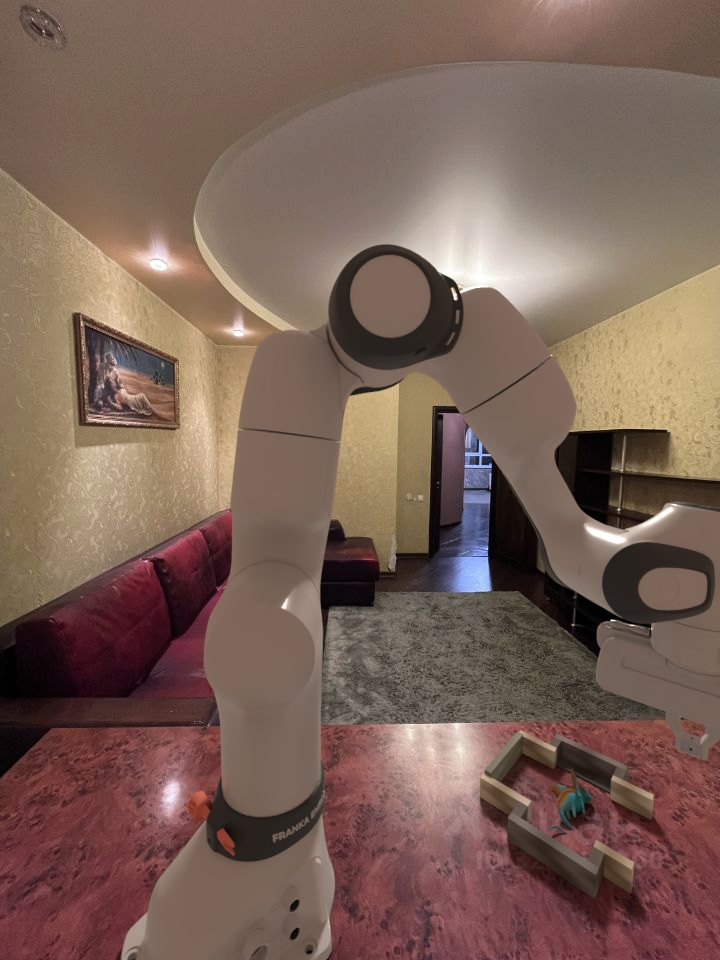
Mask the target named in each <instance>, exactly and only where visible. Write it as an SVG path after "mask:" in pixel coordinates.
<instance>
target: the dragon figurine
mask: <svg viewBox="0 0 720 960" xmlns="http://www.w3.org/2000/svg"><path fill="white" fill-rule="evenodd" d="M577 777H578V776H576V775H575V774H574V770H573V768H572V770H571V773H570V778H571V782H572V783H571V784H572V786H571V788H570V787H569V788H567V787H566V785H564V784H563V785H562V784H560V783H554V784H551V785H549V788H550V791H551V792H554V796H555V797H556V798H557V800H556V802H557V806H556V807H557V811H558V815H559V817H560V819H561V820H562V822H563V823H564V824H565V825H566V826H567V827H568V828H569V829H570V830H572V831H574V828H573V826H572V825H571V824H570V823H569V821H568V820H567V819H569V820H571V819H572V817H573V818H577V813H579V812H582V815H584V816H585V815H586V810H585V804H587V805H588V804H589V805H590V804H591V803H593V797H592V795H591V793H590V791H588V790H587V789H586V788H585V786H584V785H583V786H582V784H581V782H580V781H578V778H577ZM577 784H578V785H577ZM571 812H572V817H571ZM565 813H566V816H565ZM566 817H567V819H566ZM552 829H558V830H559V831H561V832H562V833H563V834H565V835H568V834H569V833H568V832H566V831H565V830H564V829H562V828H560V827H559V826H557V825H552V826H551V827H550V828H549V831H551V830H552Z"/></svg>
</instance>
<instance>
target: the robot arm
mask: <svg viewBox="0 0 720 960" xmlns="http://www.w3.org/2000/svg"><path fill="white" fill-rule="evenodd" d="M452 289H454V292H455V294H454V293H453V291H452ZM327 306H328V308H327V310H328V311H327V313H328V320H327V322H326V324H322V325H321V326H320V327H318V328H316V329H313V330H312V329H311V330H308V331H306V330H301V329H284V330H278V331H276V332H273V333H271V334H268V335H267V336H266V337H264V338H263V339H262V340H261V341H260V342H259V344H258V346H257V347H256V348H255V351H254V354H253V357H252V362H251V364H250V367H249V371H248V373H247V378H246V382H245V386H244V390H243V394H242V400H241V404H240V405H241V406H240V412H239V419H238V425H237V434H236V435H237V436H236V446H235V454H234V463H233V464H234V466H233V473H232V481H231V482H232V483H231V493H230V503H229V504H230V505H229V506H230V512H231V530H232V531H231V565H230V570H229V575H228V579H227V581H226V585H225V587H224V591H223V592H222V594H221V596H220V598H219V599H218V601H217V603H216V604H215V606H214V607H213V609H212V611H211V613H210V616H209V618H208V621H207V626H206V631H205V637H204V644H203V669H204V673H205V677H206V679H207V682H208V683H209V686H210V687H211V688H212V690H213V694H214V697H215V701H216V705H217V712H218V715H219V716H218V718H219V728H220V759H221V761H220V765H221V766H220V768H221V771H220V772H221V775H220V777H219V781H218V783H217V786H216V787H215V792H214V795H213V798H212V799H211V800H212V801H211V800H210V799H209V798H208V797H207V794H206V793H205V792H204V791H203V790H199V791H196V792H195V793H193V794H192V795H191V797H190V798H189V800H188V801H187V805H186V806H187V807H186V808H187V811H188V812H189V813H190V814H191V815H193V819H194V820H195V821H196V822H200V821H203V820H204V822H203V823H202V824H201V825H200V826H199V827H198V829H197V830H196V831H195V832H194V834H193V836H192V837H191V838H190V839H189V840H188V841H187V843H186V845H185V846H184V847H183V848H182V849H181V851H180V852H179V853H178V855H176V857H175V858H174V860H172V862H171V863H170V865H169V866H168V867H167V868H166V869H165V870H164V872H163V873H162V874H161V875H160V877H159V878H158V879H157V881H156V883H155V885H154V887H153V889H152V893H151V896H150V900H149V904H148V907H147V912H146V913H145V914H143V916H142V917H140V918H139V919H138V920H137V921H136V922H135V923H134V924H133V925H132V926H131V927H130V928H129V930H128V931H127V933H126V936H125V937H124V942H123V946H122V950H121V954H120V960H327V959H328V958H329V956H330V955H331V953H332V945H333V944H332V943H333V941H332V931H331V923H330V922H331V920H330V917H331V911H332V907H333V904H334V899H335V890H336V880H335V878H336V877H335V871H334V867H333V864H332V860H331V858H330V855H329V852H328V848H327V847H328V846H327V842H326V836H325V834H326V833H325V828H324V819H323V812H324V807H325V803H326V802H325V801H326V799H325V798H326V791H325V788H326V787H325V784H326V783H325V767H324V764H323V760H322V758H321V757H322V754H321V752H322V751H321V750H322V749H321V748H322V747H321V745H322V744H321V743H322V740H321V738H322V737H321V736H322V735H321V734H322V732H321V731H322V727H321V726H322V725H321V724H322V722H321V718H322V717H321V711H322V709H321V708H322V707H321V706H322V705H321V704H322V684H323V651H324V650H323V645H324V644H323V643H324V626H323V625H324V624H323V615H322V607H321V580H322V573H323V572H322V571H323V566H324V559H325V553H326V546H327V542H328V535H329V531H330V525H331V521H332V516H333V509H334V501H335V494H336V486H337V476H338V467H339V459H340V449H341V442H342V436H343V434H342V433H343V425H344V417H345V411H346V407H347V403H348V401H349V398H350V397H352V396H357V395H358V396H359V395H362V394H363V395H364V394H368V393H375V392H381V391H385V390H388V389H391V388H393V387H395V386H396V385H398V384H400V383H401V382H403V380H404V379H406V378H407V377H408V376H409V375H411V374H414V373H416V372H417V373H418V374H422V375H425V376H427V377H430V378H431V379H432V380H434V381H435V382H436V383H438V384H439V385H440V386H441V388H442V389H443V390H444V391H445V390H446V392H447V394H448V396H449V398H450V399H451V401H452V403H453V404H454V405H455V407H456V409H457V411H458V412H459V413H460V414H461V416H462V418H463V419H464V421H465V423H466V424H467V426H468V427H469V428H470V429H471V431H472V433H473V434H474V435H475V437H476V438H477V439H478V441H479V442H480V443H481V445H482V446H483V447H484V449H485V450H486V451H487V452H488V454H489V455H490V456H491V458H492V460H493V461H494V462H495V464H496V465H497V467H498V468H499V469H500V471H501V473H502V475H503V476H504V478H505V481H506V482H507V484H508V485H509V487H510V489H511V491H512V493H513V494H514V496H515V497H516V499H517V501H518V502H519V504H520V506H521V507H522V509H523V511H524V513H525V514H526V516H527V518H528V519H529V521H530V523H531V525H532V527H533V529H534V531H535V533H536V534H535V535H536V537H537V541H538V548H539V553H540V554H539V555H540V559H541V562H542V563H541V564H542V565H543V567H544V570H545V571H546V573H547V574H548V576H549V577H550V578H551V579H552V580H553V581H554V582H555V583H557V584H559V585H560V586H562V587H564V588H567V589H569V590H571V591H572V592H573V591H574V592H575V593H578V594H579V595H581V596H582V597H584V598H585V599H587V600H589V601H591V602H592V603H594V604H596V605H597V606H599V607H602V609H603V608H604V609H605V610H606V611H608V612H609V613H611V614H613V615H615V616H617V617H619V618H621V619H624V620H626V621H629V622H632V623H636V624H630V623H626V622H623V621H620V620H617V619H610V621H603V622H601V623H600V624H599V625H598V626H597V627H596V628H597V629H596V641H597V642H596V643H597V645H598V647H599V648H600V650H599V654H598V658H597V662H596V669H595V671H596V672H595V681H596V682H597V684H598V686H599V687H600V688H601V689H602V690H604V691H606V692H610V693H612V694H615V695H618V696H619V697H623V698H626V699H628V700H632V701H635V702H637V703H641V704H643V705H646V706H648V707H651V708H654V709H657V710H660V711H663V712H664V713H665V714H664V715H665V717H664V720H665V721H666V723H667V725H668V727H669V729H670V730H671V732H672V734H673V735H674V736H675V746H674V747H675V750H677V751H680V752H681V753H685V754H687V755H690V756H693V757H696V758H698V759H699V760H703V761H705V762H707V761H708V756H709V755H708V753H709V749H710V748H712V747H713V746H714V745H715V744H717V743H719V741H720V507H717V506H712V505H703V504H699V503H693V502H689V501H688V502H687V501H672V502H671V501H670V502H667V503H665V504H664V505H663V508H662V510H660V511H659V512H658V513H656V514H655V515H654V516H653V517H651V518H649V519H647V520H645V521H644V522H642V523H639V524H637V525H634V526H631V527H628V528H627V527H626V528H625V529H621V528H618V527H615V526H614V527H613V526H611V525H607V524H605V523H602V522H600V521H598V520H596V519H594V518H593V517H591V516H589V515H588V514H586V513H585V512H584V511H583V510H582V509H581V508H580V506H579V505H578V503H577V501H576V500H575V498H574V495H573V494H572V492H571V490H570V488H569V486H568V485H567V483H566V481H565V480H564V477H563V476H562V474H561V472H560V470H559V468H558V466H557V463H556V459H555V454H556V450H557V448H559V446H560V445H561V444H562V443H563V442H564V440H566V438H567V436H568V435H569V433H570V432H571V429H572V427H573V426H574V425H573V424H574V422H575V418H576V414H577V408H578V407H577V403H576V399H575V396H574V392H573V390H572V387H571V385H570V382H569V380H568V378H567V376H566V374H565V373H564V371H563V370H562V368H561V366H560V365H559V363H558V361H557V360H556V359H555V357H554V356H553V354H552V352H551V351H550V349H549V348H548V346H547V345H546V343H545V342H544V340H543V339H542V337H540V335H539V334H538V332H537V331H536V329H535V328H534V327H533V326H532V325H531V323H529V321H528V320H527V318H525V316H524V315H523V314H522V313H521V312H520V311H519V310H518V309H517V308H516V307H515V306H514V304H513V303H512V302H511V301H510V300H509V299H508V298H507V297H506V296H505V295H503V294H502V292H501V291H500V290H498V289H496V288H494V287H491V286H487V285H477V286H472V287H468V288H465V289H463V290H460V288H459V286H458V284H457V282H456V281H455V279H453V278H451V277H450V276H447V275H446V274H443V273H441V272H440V271H439V270H438V269H437V268H436V267H435V266H434V265H433V264H432V263H431V262H430V261H429V260H427V259H426V258H425V257H423V256H422V255H420V254H419V253H417V252H415V251H413V250H411V249H409V248H407V247H404V246H400V245H396V244H390V243H388V244H386V243H385V244H375V245H373V246H369V247H367V248H365V249H363V250H361V251H360V252H358V253H357V254H356V255H354V256H353V257H352V258H351V259H350V260H349V261H348V262H347V263H346V264H345V265H344V266H343V268H342V269H341V271H340V272H339V274H338V276H337V278H336V279H335V282H334V284H333V287H332V289H331V292H330V295H329V300H328V305H327ZM638 624H641V625H643V624H646V625H647V624H650V625H651V627H646V626H641V625H638ZM681 719H685V720H688V721H690V722H694V723H696V724H699V725H701V726H702V725H703V726H704V734H703V736H698V735H695V734H692V733H689V732H686V731H685V730H684V727H683V726H682V724H681ZM309 951H311V953H309V954H308V953H307V952H309Z"/></svg>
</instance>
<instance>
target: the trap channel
mask: <svg viewBox="0 0 720 960" xmlns="http://www.w3.org/2000/svg"><path fill="white" fill-rule="evenodd" d="M522 755H524V756H527V757H529V758H531V759H533V760H534V761H536V762H539V763H541V764H543V765H545V766H546V767H547V768H550V769H552V770H555V768H556V767H558V768H560V769H563V770H564V771H566V772H569V773H570V774H571V770H572V768H573V770H574V774H575V775H576V777H578V778H580V779H582V780H584V781H586V782H588V783H589V784H591V785H593V786H596V787H597V788H599V789H600V790H603V791H606V792H607V793H609V794H610V796H609V799H610V800H612V801H614V802H615V803H616V804H618V805H620V806H623V807H624V808H627V809H628V810H630V811H632V812H635V813H636V814H638V815H640V816H642V817H644V818H646V819H647V820H649V821H652V819H653V816H654V815H653V814H654V801H655V799H654V797H655V795H654V794H653V793H651V792H648V791H647V790H644V789H642V788H641V787H638V786H636V785H634V784H632V783H631V782H628V773H629V771H628V770H629V766H628V765H626V764H624V763H622V762H621V761H620V762H619V761H617V760H615V759H612V758H611V757H609V756H606V755H604V754H602V753H600V752H597V751H596V750H593V749H591V748H589V747H587V746H585V745H582V744H580V743H578V742H576V741H574V740H572V739H569V738H567V737H565V736H563V735H561V734H559V733H556V734H555V736H554V737H553V738H552V740H551V741H550V743H547V742H546V741H544V740H542V739H539V738H538V737H535V736H533V735H531V734H529V733H526V732H525V731H523V730H521V729H520V730H519V731H516V732H515V734H514V735H513V736H512V737H511V738H510V739H509V740H508V741H507V743H506V744H505V745H504V746H503V747H502V748H501V749H500V751H499V752H498V753H497V754H496V755H495V757H494V758H493V759H492V760H491V761H490V762H489V764H488V765H487V766H486V767H485V768H484V772H483V773H482V775H481V776H480V781H479V782H480V783H479V798H481V799H483V800H484V801H486V802H487V803H489V804H491V805H492V806H494V807H495V808H497V809H498V810H500V811H501V812H503V813H505V814H506V815H508V817H507V826H506V827H507V828H506V830H507V832H506V834H507V835H506V839H507V840H508V841H509V842H511V844H514V845H515V846H516V847H518V848H520V849H521V850H522V851H523V852H525V853H526V854H528V855H529V856H531V857H532V858H534V859H535V860H537V861H538V860H539V861H538V862H540V863H541V862H542V863H541V864H543V865H544V864H545V865H547V866H548V867H549V868H548V867H547V866H546V867H547V868H548V869H549V870H551V871H553V872H554V873H555V874H557V875H559V876H560V877H562V878H563V879H564V880H566V881H567V882H569V883H570V884H572V885H573V886H575V887H576V888H577V889H579V890H580V891H582V892H583V893H585V894H586V895H588V897H590V898H592V899H594V900H596V898H597V895H598V892H599V889H600V887H601V884H602V881H603V878H605V879H607V880H608V881H610V882H611V883H613V884H615V885H616V886H617V887H619V888H621V889H623V891H625V892H627V893H629V894H632V891H633V887H634V871H635V870H634V869H635V861H633V860H631V859H629V858H628V857H626V856H624V855H623V854H621V853H619V852H618V851H616V850H614V849H612V848H611V847H609V846H607V845H606V844H604V843H603V842H601V841H599V840H597V839H595V841H594V843H593V846H592V849H591V851H590V854H589V856H588V858H585V857H583V856H581V855H580V854H578V853H577V852H575V851H574V850H572V849H571V848H569V847H568V846H566V845H565V844H563V843H561V842H559V841H558V840H557V839H555V838H553V837H552V836H550V835H549V834H547V833H546V832H544V831H542V830H541V829H539V828H537V827H536V826H535V825H533V824H531V817H532V816H531V815H532V814H531V813H532V800H530V799H528V798H527V797H526V796H523V795H522V794H520V793H519V792H517V791H516V790H514V789H512V788H510V787H508V786H507V785H505V784H504V783H502V781H503V779H505V777H506V776H507V774H508V773H509V772H510V770H511V769H512V768H513V767H514V765H515V764H516V763H517V762H518V760H519V759H520V758H521V756H522ZM545 865H544V866H545Z"/></svg>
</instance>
